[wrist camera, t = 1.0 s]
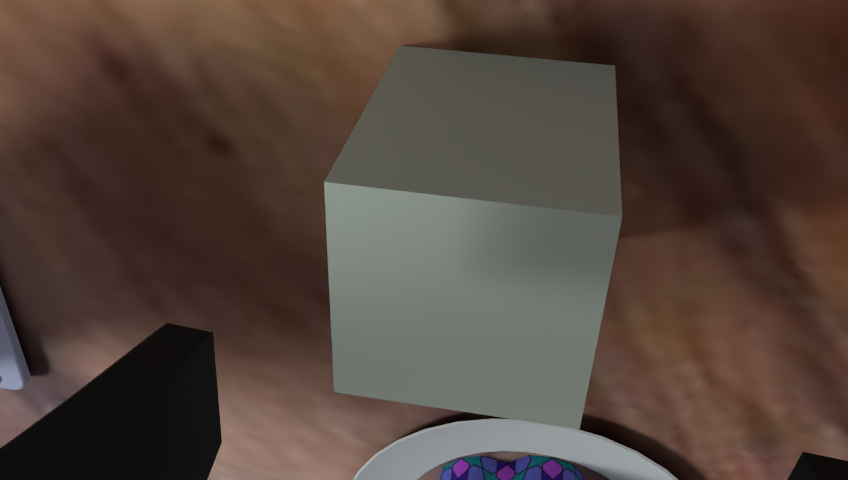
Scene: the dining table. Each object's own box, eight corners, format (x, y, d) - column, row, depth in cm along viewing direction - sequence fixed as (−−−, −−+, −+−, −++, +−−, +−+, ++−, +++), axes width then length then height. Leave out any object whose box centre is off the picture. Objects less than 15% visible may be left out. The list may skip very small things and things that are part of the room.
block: (397, 221, 20) (334, 392, 15) (400, 44, 17) (323, 181, 13) (584, 244, 20) (579, 429, 15) (615, 65, 17) (622, 216, 12)
